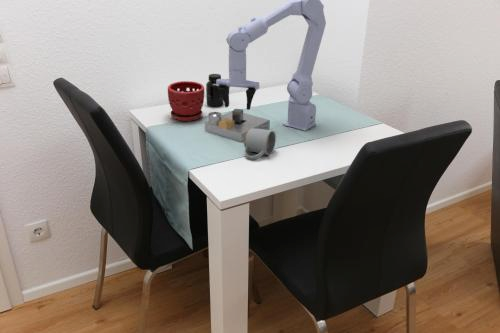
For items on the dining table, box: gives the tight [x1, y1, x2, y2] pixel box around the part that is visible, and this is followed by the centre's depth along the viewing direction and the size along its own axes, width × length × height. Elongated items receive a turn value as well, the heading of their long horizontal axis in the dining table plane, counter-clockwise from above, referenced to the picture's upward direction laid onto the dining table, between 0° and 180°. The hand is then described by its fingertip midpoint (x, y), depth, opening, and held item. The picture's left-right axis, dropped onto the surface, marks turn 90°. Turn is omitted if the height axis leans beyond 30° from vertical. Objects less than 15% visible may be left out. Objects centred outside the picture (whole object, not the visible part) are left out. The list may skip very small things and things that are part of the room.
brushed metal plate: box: [204, 110, 271, 143], centre depth 163 cm, size 16×16×6 cm
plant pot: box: [167, 80, 205, 122], centre depth 172 cm, size 13×13×12 cm
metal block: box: [231, 108, 244, 125], centre depth 163 cm, size 3×3×7 cm
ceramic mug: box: [243, 129, 277, 161], centre depth 145 cm, size 11×8×8 cm
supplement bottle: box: [205, 73, 225, 108], centre depth 185 cm, size 7×7×12 cm
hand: (237, 107), depth 161 cm, fingers open, 7 cm apart
